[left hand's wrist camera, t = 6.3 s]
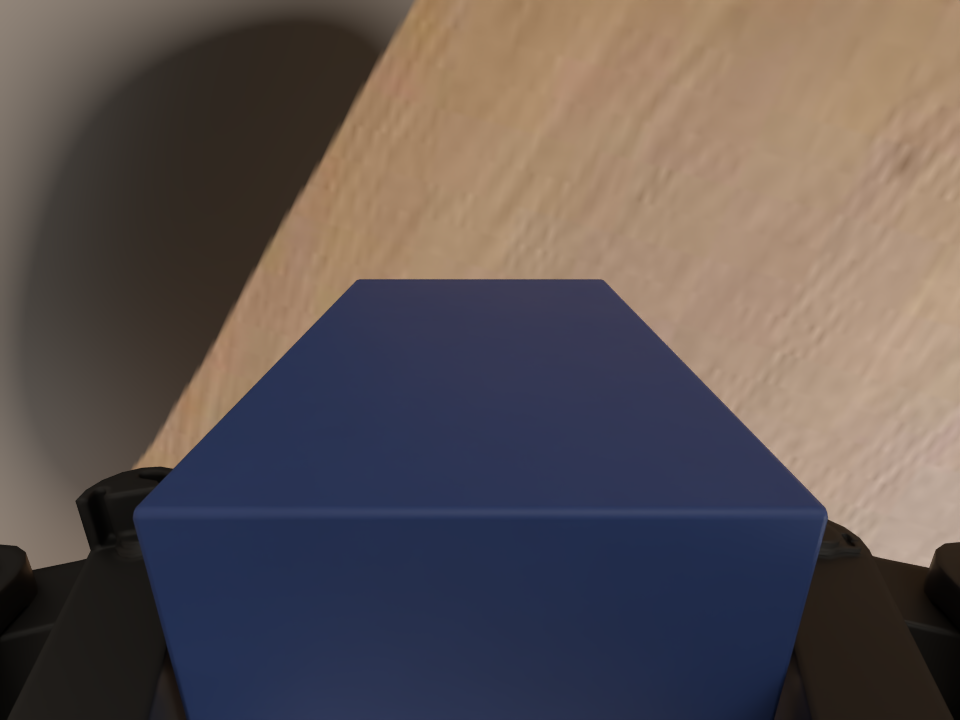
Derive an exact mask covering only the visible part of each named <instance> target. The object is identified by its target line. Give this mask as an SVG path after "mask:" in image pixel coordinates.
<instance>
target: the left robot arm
mask: <svg viewBox="0 0 960 720" xmlns="http://www.w3.org/2000/svg"><path fill="white" fill-rule="evenodd" d="M172 470H173V469H171V468H165V467H147V468H139V469H135V470H130V471H126V472H122V473H119V474H117V475H114V476H112V477H109V478H107V479H104V480H102V481H100V482H99V483H97V484H95V485H93V486H92V487H90V488H89V489H87V490H86V491H85V492H84V493H83V494H82V495H81V496H80V497H79V498H78V499H77V500H76V504H77V507H78V511H79V514H80V517H81V520H82V524H83V527H84V530H85V533H86V537H87V540H88V543H89V546H90V550H91V551H90V553H89V555H88V557H87V559H84V560H80V561H75V562H70V563H66V564H61V565H56V566H51V567H46V568H41V569H36V570H32V569H31V566H30V563H29V560H28V558H27V555H26V552H25V551H23V550H22V549H20V548H19V547H17V546H10V545H0V720H187V719H186V715H185V712H184V708H183V704H182V700H181V697H180V693H179V689H178V686H177V682H176V678H175V674H174V671H173V667H172V663H171V659H170V656H169V652H168V648H167V644H166V641H165V637H164V633H163V630H162V626H161V622H160V618H159V615H158V611H157V607H156V603H155V600H154V596H153V592H152V588H151V585H150V581H149V577H148V574H147V570H146V566H145V562H144V559H143V555H142V551H141V547H140V544H139V540H138V536H137V533H136V529H135V525H134V521H133V514H134V511H135V508H136V507H137V506H138V505H139V504H140V503H141V502H142V501H143V500H144V499H145V498H146V496H147V495H148V494H149V493H150V492H151V491H152V490H153V489H154V488H155V487H156V486H157V485H158V484H159V483H160V482H161V481H162V480H163V479H164V478H165V477H166V476H167V475H168V474H169V473H170V472H171V471H172ZM774 720H960V542H957V543H946V544H943V545H942V546H941V547H939V548H938V549H936V551H935V554H934V556H933V559H932V562H931V565H930V567H929V568H927V567H922V566H917V565H912V564H907V563H902V562H897V561H892V560H887V559H882V558H878V557H874V556H872V554H871V552H870V550H869V549H868V548H867V546H866V545H865V544H864V543H863V541H862V540H861V539H860V538H859V537H858V536H856V535H855V534H853V533H852V532H851V531H849V530H848V529H846V528H845V527H843V526H841V525H839V524H836V523H834V522H832V521H830V520H828V521H827V525H826V528H825V532H824V536H823V540H822V543H821V547H820V551H819V554H818V558H817V562H816V566H815V569H814V573H813V577H812V580H811V584H810V588H809V592H808V595H807V599H806V603H805V606H804V610H803V614H802V618H801V621H800V625H799V629H798V632H797V636H796V640H795V644H794V647H793V651H792V655H791V659H790V662H789V666H788V670H787V673H786V677H785V681H784V685H783V688H782V692H781V696H780V699H779V703H778V707H777V711H776V714H775V718H774Z"/></svg>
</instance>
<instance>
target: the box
mask: <svg viewBox="0 0 960 720" xmlns="http://www.w3.org/2000/svg"><path fill="white" fill-rule="evenodd" d="M133 521H134V525H135V529H136V533H137V536H138V540H139V544H140V547H141V551H142V555H143V559H144V562H145V566H146V570H147V574H148V577H149V581H150V585H151V588H152V592H153V596H154V600H155V603H156V607H157V611H158V615H159V618H160V622H161V626H162V630H163V633H164V637H165V641H166V644H167V648H168V652H169V656H170V659H171V663H172V667H173V671H174V674H175V678H176V682H177V686H178V689H179V693H180V697H181V700H182V704H183V708H184V712H185V715H186V719H187V720H774V718H775V714H776V711H777V707H778V703H779V699H780V696H781V692H782V688H783V685H784V681H785V677H786V673H787V670H788V666H789V662H790V659H791V655H792V651H793V647H794V644H795V640H796V636H797V632H798V629H799V625H800V621H801V618H802V614H803V610H804V606H805V603H806V599H807V595H808V592H809V588H810V584H811V580H812V577H813V573H814V569H815V566H816V562H817V558H818V554H819V551H820V547H821V543H822V540H823V536H824V532H825V528H826V525H827V521H828V515H827V511H826V508H825V507H824V506H823V505H822V504H821V503H820V502H819V501H818V500H817V499H816V498H815V497H814V496H813V495H812V494H811V493H810V492H809V491H808V490H807V489H806V488H805V486H804V485H803V484H802V483H801V482H800V481H799V480H798V479H797V478H796V477H795V476H794V475H793V474H792V473H791V472H790V471H789V470H788V469H787V468H786V467H785V466H784V465H783V464H782V463H781V462H780V461H779V460H778V459H777V458H776V457H775V456H774V455H773V454H772V453H771V452H770V451H769V450H768V449H767V448H766V446H765V445H764V444H763V443H762V442H761V441H760V440H759V439H758V438H757V437H756V436H755V435H754V434H753V433H752V432H751V431H750V430H749V429H748V428H747V427H746V426H745V425H744V424H743V423H742V422H741V421H740V420H739V419H738V418H737V417H736V416H735V415H734V414H733V413H732V412H731V411H730V410H729V409H728V408H727V406H726V405H725V404H724V403H723V402H722V401H721V400H720V399H719V398H718V397H717V396H716V395H715V394H714V393H713V392H712V391H711V390H710V389H709V388H708V387H707V386H706V385H705V384H704V383H703V382H702V381H701V380H700V379H699V378H698V377H697V376H696V375H695V374H694V373H693V372H692V371H691V370H690V369H689V367H688V366H687V365H686V364H685V363H684V362H683V361H682V360H681V359H680V358H679V357H678V356H677V355H676V354H675V353H674V352H673V351H672V350H671V349H670V348H669V347H668V346H667V345H666V344H665V343H664V342H663V341H662V340H661V339H660V338H659V337H658V336H657V335H656V334H655V333H654V332H653V331H652V330H651V329H650V327H649V326H648V325H647V324H646V323H645V322H644V321H643V320H642V319H641V318H640V317H639V316H638V315H637V314H636V313H635V312H634V311H633V310H632V309H631V308H630V307H629V306H628V305H627V304H626V303H625V302H624V301H623V300H622V299H621V298H620V297H619V296H618V295H617V294H616V293H615V292H614V291H613V290H612V289H611V287H610V286H609V285H608V284H607V283H606V282H605V281H604V280H595V279H359V280H357V281H356V282H355V283H354V284H353V285H352V286H351V287H350V288H349V289H348V290H347V291H346V292H345V293H344V294H343V295H342V296H341V297H340V298H339V299H338V300H337V301H336V302H335V303H334V304H333V305H332V306H331V307H330V308H329V309H328V310H327V311H326V312H325V314H324V315H323V316H322V317H321V318H320V319H319V320H318V321H317V322H316V323H315V324H314V325H313V326H312V327H311V328H310V329H309V330H308V331H307V332H306V333H305V334H304V335H303V336H302V337H301V338H300V339H299V340H298V341H297V342H296V343H295V344H294V345H293V346H292V347H291V348H290V349H289V351H288V352H287V353H286V354H285V355H284V356H283V357H282V358H281V359H280V360H279V361H278V362H277V363H276V364H275V365H274V366H273V367H272V368H271V369H270V370H269V371H268V372H267V373H266V374H265V375H264V376H263V377H262V378H261V379H260V380H259V381H258V382H257V383H256V384H255V385H254V386H253V388H252V389H251V390H250V391H249V392H248V393H247V394H246V395H245V396H244V397H243V398H242V399H241V400H240V401H239V402H238V403H237V404H236V405H235V406H234V407H233V408H232V409H231V410H230V411H229V412H228V413H227V414H226V415H225V416H224V417H223V418H222V419H221V420H220V421H219V422H218V424H217V425H216V426H215V427H214V428H213V429H212V430H211V431H210V432H209V433H208V434H207V435H206V436H205V437H204V438H203V439H202V440H201V441H200V442H199V443H198V444H197V445H196V446H195V447H194V448H193V449H192V450H191V451H190V452H189V453H188V454H187V455H186V456H185V457H184V458H183V459H182V461H181V462H180V463H179V464H178V465H177V466H176V467H175V468H174V469H173V470H172V471H171V472H170V473H169V474H168V475H167V476H166V477H165V478H164V479H163V480H162V481H161V482H160V483H159V484H158V485H157V486H156V487H155V488H154V489H153V490H152V491H151V492H150V493H149V494H148V495H147V496H146V498H145V499H144V500H143V501H142V502H141V503H140V504H139V505H138V506H137V507H136V508H135V511H134V514H133Z"/></svg>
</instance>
